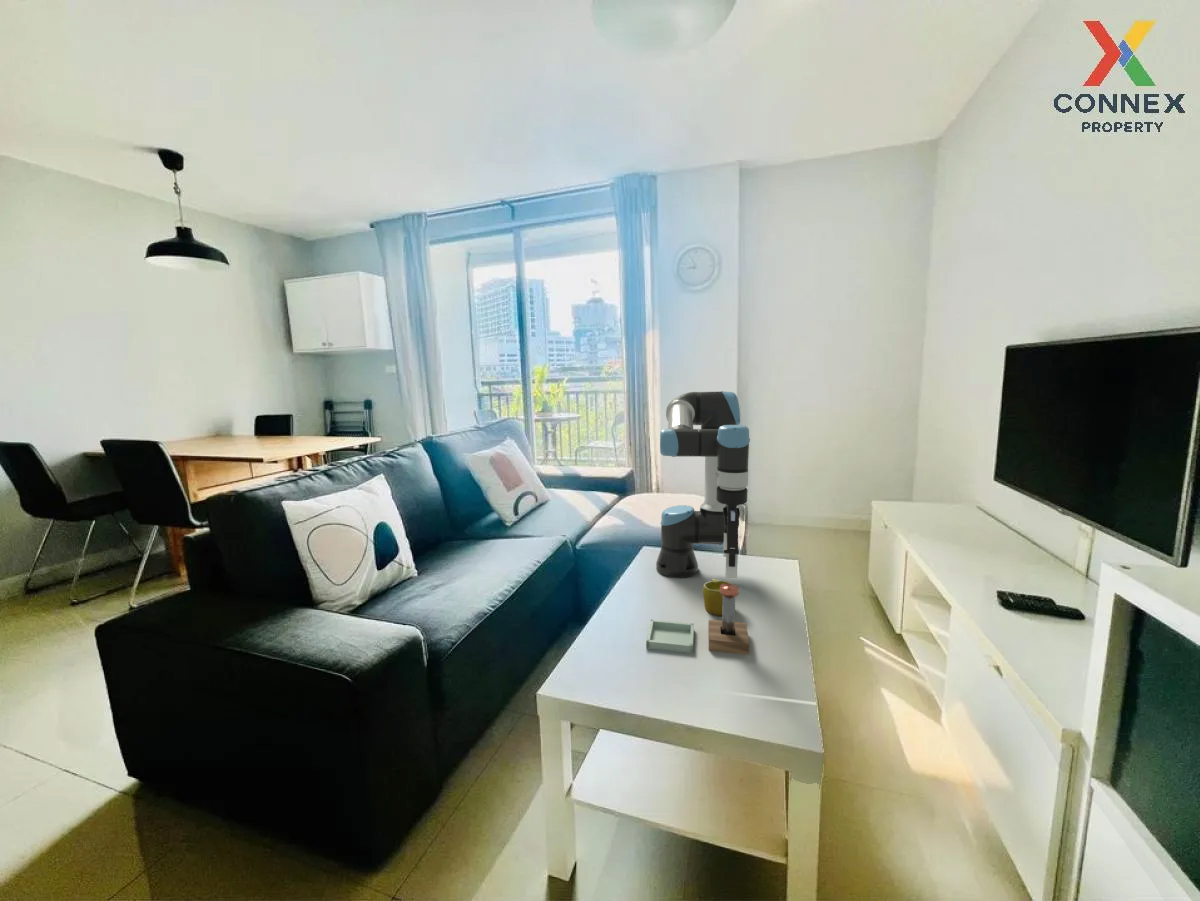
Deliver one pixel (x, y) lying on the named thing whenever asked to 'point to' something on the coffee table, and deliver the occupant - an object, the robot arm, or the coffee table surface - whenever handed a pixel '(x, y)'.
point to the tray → (670, 636)
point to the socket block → (728, 638)
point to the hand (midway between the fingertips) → (729, 566)
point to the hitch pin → (728, 607)
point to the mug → (713, 597)
